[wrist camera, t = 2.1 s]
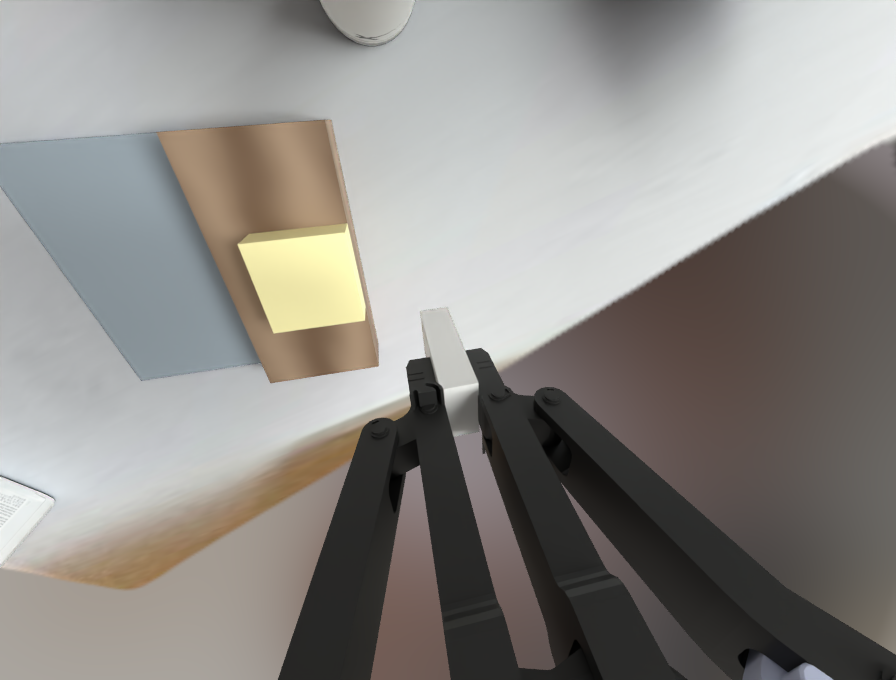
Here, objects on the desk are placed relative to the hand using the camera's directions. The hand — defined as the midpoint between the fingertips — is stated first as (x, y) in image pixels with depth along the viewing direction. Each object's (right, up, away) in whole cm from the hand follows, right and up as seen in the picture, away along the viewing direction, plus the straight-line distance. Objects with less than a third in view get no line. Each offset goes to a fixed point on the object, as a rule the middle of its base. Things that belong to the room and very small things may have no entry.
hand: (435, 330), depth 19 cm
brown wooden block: (-12, +7, +11) cm, 18 cm away
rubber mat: (-24, +5, +10) cm, 26 cm away
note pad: (-10, +5, +8) cm, 14 cm away
